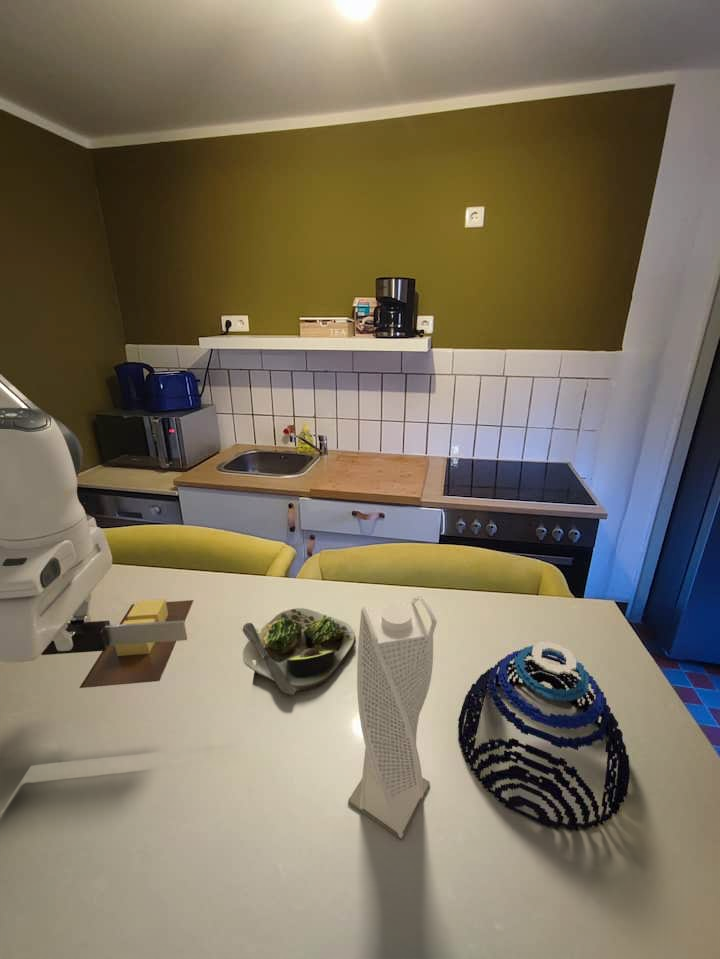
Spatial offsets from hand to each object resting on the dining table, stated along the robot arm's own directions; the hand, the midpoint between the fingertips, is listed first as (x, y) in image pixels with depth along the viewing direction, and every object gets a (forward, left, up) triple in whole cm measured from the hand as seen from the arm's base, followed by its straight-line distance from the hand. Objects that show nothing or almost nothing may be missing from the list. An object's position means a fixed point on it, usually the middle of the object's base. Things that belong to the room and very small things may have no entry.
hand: (75, 637), depth 56 cm
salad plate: (+29, +8, -14) cm, 33 cm away
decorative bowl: (+60, -12, -14) cm, 62 cm away
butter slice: (+2, +17, -12) cm, 21 cm away
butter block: (+2, +12, -12) cm, 17 cm away
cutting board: (0, +13, -13) cm, 19 cm away
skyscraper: (+40, -17, -14) cm, 45 cm away
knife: (+5, 0, -2) cm, 5 cm away
